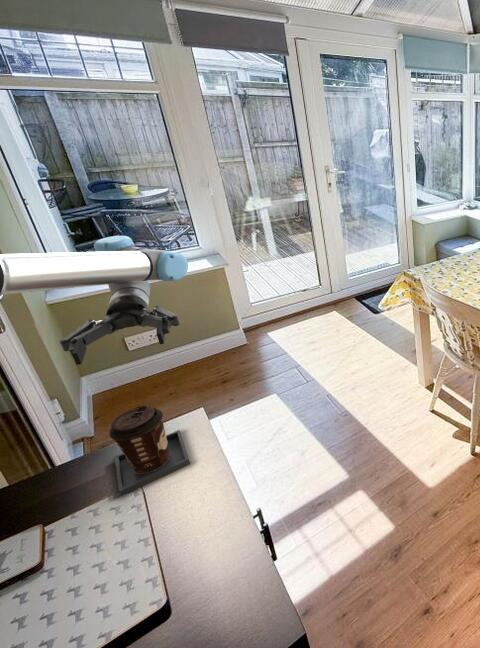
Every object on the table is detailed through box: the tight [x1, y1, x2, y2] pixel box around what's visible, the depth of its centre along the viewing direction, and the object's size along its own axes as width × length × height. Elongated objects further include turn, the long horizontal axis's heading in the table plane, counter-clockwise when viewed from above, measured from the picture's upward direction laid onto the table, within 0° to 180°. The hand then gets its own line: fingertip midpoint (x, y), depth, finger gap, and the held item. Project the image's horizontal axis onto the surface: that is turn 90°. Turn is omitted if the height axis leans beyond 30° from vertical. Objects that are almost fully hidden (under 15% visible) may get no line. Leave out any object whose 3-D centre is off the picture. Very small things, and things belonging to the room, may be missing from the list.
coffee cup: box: [109, 405, 170, 474], centre depth 89 cm, size 9×8×13 cm
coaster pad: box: [113, 429, 191, 497], centre depth 91 cm, size 12×12×2 cm
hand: (120, 348), depth 89 cm, fingers open, 13 cm apart
